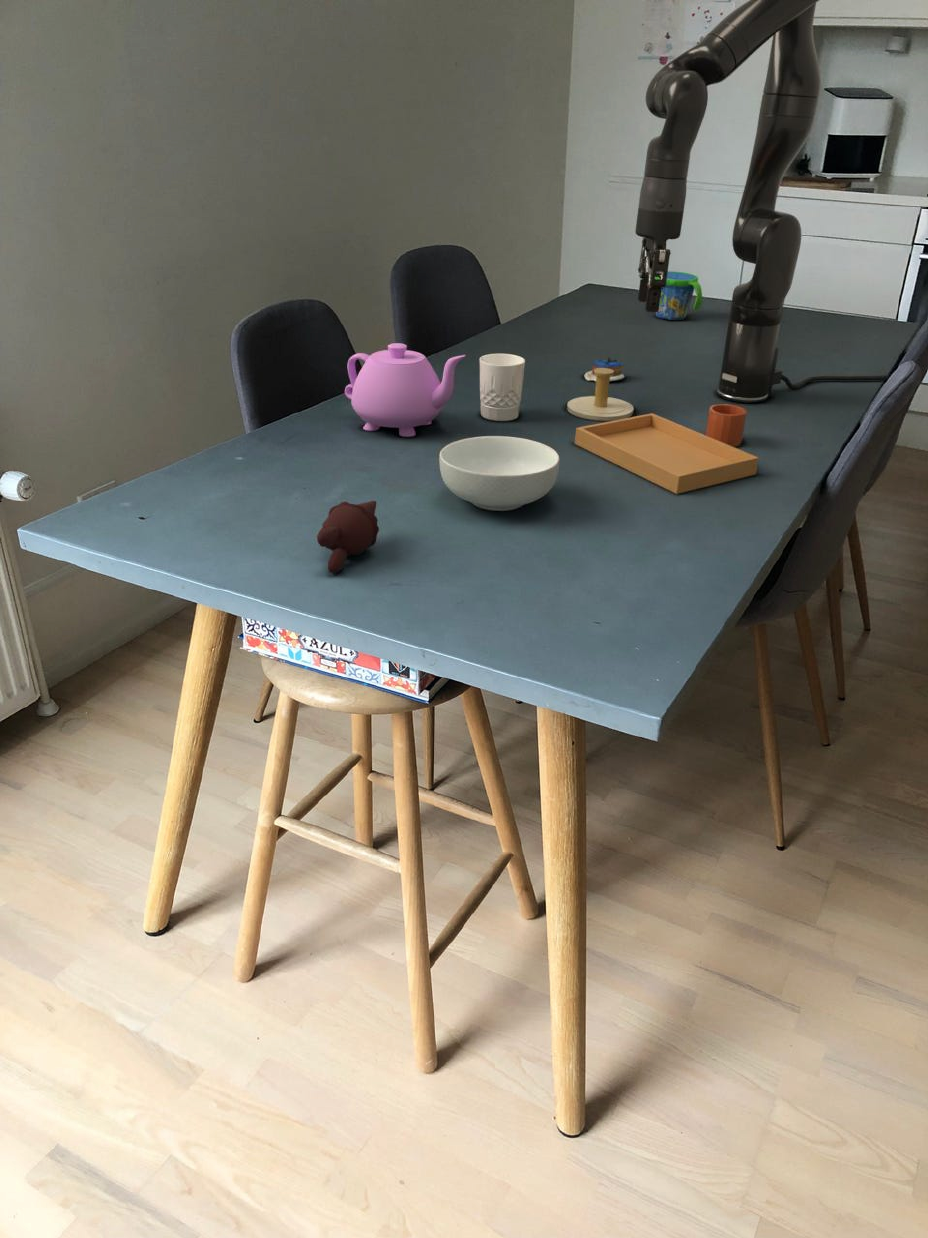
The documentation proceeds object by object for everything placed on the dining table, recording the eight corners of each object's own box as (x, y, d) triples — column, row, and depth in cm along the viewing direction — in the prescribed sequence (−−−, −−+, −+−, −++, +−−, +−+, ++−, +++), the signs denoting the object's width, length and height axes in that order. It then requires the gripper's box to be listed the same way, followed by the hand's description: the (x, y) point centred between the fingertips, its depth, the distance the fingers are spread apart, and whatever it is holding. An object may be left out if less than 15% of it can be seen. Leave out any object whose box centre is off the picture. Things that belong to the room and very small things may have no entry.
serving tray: (650, 428, 174) (652, 412, 173) (755, 474, 156) (758, 457, 155) (574, 443, 166) (575, 427, 165) (676, 494, 148) (679, 476, 147)
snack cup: (709, 321, 246) (715, 278, 241) (678, 326, 241) (684, 282, 236) (663, 309, 257) (668, 267, 252) (633, 313, 252) (638, 271, 247)
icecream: (342, 480, 133) (289, 532, 121) (392, 475, 130) (342, 528, 118) (357, 526, 136) (307, 582, 124) (406, 523, 133) (359, 579, 121)
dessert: (625, 369, 204) (625, 350, 198) (624, 395, 201) (624, 376, 195) (585, 369, 205) (584, 350, 199) (583, 396, 202) (583, 377, 197)
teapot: (479, 422, 175) (482, 342, 168) (444, 449, 162) (445, 365, 155) (366, 404, 182) (364, 327, 175) (324, 429, 169) (320, 347, 162)
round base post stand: (604, 396, 190) (608, 358, 186) (647, 414, 181) (651, 374, 177) (553, 405, 184) (556, 366, 180) (594, 424, 175) (598, 383, 172)
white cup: (518, 424, 174) (521, 367, 169) (473, 420, 176) (475, 363, 171) (524, 410, 181) (528, 355, 176) (482, 406, 182) (484, 351, 177)
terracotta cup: (723, 433, 173) (727, 402, 170) (748, 443, 169) (754, 411, 166) (697, 438, 170) (702, 407, 168) (723, 449, 166) (728, 417, 163)
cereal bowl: (568, 488, 149) (572, 443, 146) (539, 531, 135) (542, 482, 132) (460, 472, 154) (462, 427, 150) (421, 512, 140) (421, 464, 136)
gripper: (692, 212, 160) (676, 316, 168) (676, 202, 173) (662, 299, 181) (645, 210, 160) (632, 313, 168) (632, 200, 173) (620, 297, 181)
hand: (647, 306), depth 174 cm, fingers open, 8 cm apart
